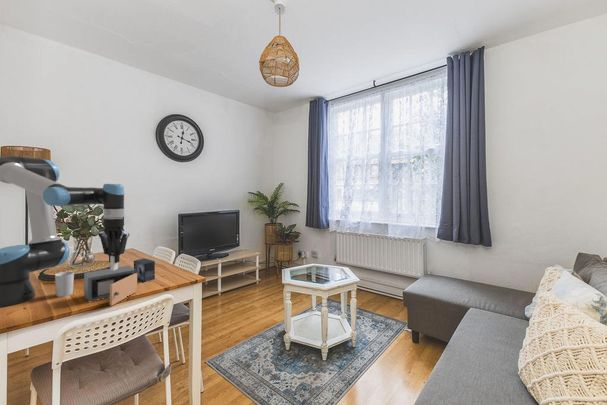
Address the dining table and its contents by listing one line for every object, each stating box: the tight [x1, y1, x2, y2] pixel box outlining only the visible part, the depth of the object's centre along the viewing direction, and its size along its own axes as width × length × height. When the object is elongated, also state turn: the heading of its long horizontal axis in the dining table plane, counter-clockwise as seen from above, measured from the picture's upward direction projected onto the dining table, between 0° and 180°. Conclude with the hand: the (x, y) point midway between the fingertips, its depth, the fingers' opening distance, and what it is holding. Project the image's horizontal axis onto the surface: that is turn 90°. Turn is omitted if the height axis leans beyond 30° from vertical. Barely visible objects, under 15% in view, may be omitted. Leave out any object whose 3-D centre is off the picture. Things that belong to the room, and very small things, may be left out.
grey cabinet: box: [83, 265, 135, 303], centre depth 124 cm, size 18×10×11 cm, turn 138°
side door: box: [109, 273, 138, 306], centre depth 119 cm, size 16×2×9 cm, turn 178°
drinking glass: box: [54, 270, 75, 298], centre depth 121 cm, size 7×7×10 cm
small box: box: [133, 257, 156, 283], centre depth 145 cm, size 11×6×10 cm, turn 62°
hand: (114, 269), depth 117 cm, fingers closed
